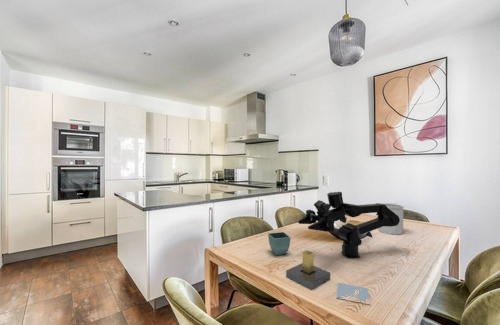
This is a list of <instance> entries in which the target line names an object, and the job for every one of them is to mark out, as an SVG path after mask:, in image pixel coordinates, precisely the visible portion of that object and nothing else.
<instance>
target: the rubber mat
mask: <svg viewBox="0 0 500 325" xmlns="http://www.w3.org/2000/svg"><path fill="white" fill-rule="evenodd" d="M336 287H337V289H336V299H337V298H344V297H348V296H351V295H352V296H351V297H354V295H355V294H354V293H355V290H357V292H358V290H359V294H358V293H357V294H358V295H357V294H356V295H357V296H356V295H355V296H356V297H357V298H358V300H359V299H360V300H362V301H363V302H364V300H365V301H366V299H370V293H369V288H367V287H363V286H359V285H358V286H357V285H353V284H346V283H343V282H337V286H336ZM360 289H361V290H360ZM348 294H349V295H348ZM353 294H354V295H353ZM346 295H347V296H346ZM341 296H344V297H341ZM351 297H349V298H351ZM356 297H355V298H356ZM357 298H356V299H357ZM370 300H371V299H370Z"/></svg>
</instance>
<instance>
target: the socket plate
mask: <svg viewBox="0 0 500 325" xmlns="http://www.w3.org/2000/svg"><path fill="white" fill-rule="evenodd" d="M285 276H286V278H288V279H290V280H292V281H294V282H296V283H297V284H299V285H302V286H304V287H305V288H307V289H309V290H311V291H313V290H314V289H316V288H318V287H319V286H321V285H322V283H323V284H324V283H326V282H327V281H330V279H331V272H329V271H328V270H325V269H323V268H321V267H318V266H315V265H314V273H313V274H311V275H307V274H305V273H303V262H301V263H299V264H298V265H296V266H293V267H290V268H289V269H287V270H286V272H285ZM317 286H318V287H317ZM312 289H313V290H312Z"/></svg>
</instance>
